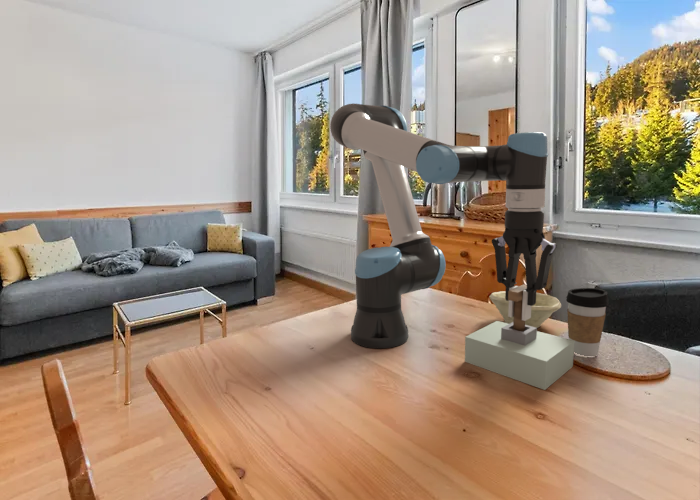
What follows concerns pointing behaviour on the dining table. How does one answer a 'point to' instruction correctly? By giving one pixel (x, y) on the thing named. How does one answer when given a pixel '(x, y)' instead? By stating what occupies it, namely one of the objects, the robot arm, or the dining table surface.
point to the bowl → (538, 311)
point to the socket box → (520, 353)
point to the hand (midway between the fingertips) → (519, 316)
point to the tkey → (517, 307)
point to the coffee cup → (586, 318)
